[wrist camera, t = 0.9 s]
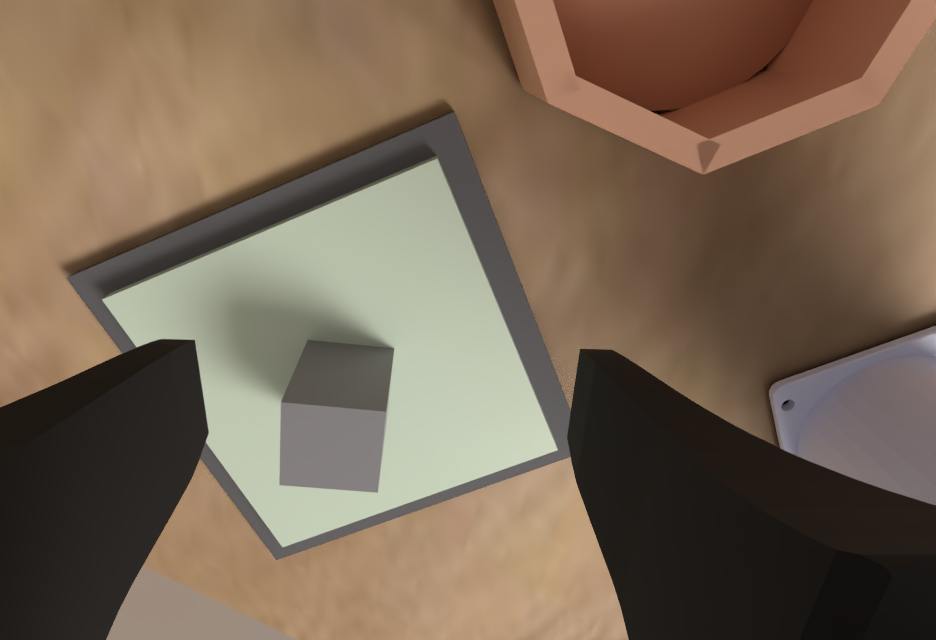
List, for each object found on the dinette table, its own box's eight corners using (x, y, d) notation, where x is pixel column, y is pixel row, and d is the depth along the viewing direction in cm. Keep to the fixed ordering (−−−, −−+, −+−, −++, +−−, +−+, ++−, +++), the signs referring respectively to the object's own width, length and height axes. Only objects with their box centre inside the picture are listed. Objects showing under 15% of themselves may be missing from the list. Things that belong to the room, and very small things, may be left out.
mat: (583, 445, 24) (586, 451, 24) (278, 552, 26) (276, 559, 26) (453, 110, 19) (454, 112, 18) (73, 274, 20) (66, 278, 20)
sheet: (555, 440, 24) (581, 525, 20) (285, 536, 25) (256, 634, 21) (437, 155, 19) (438, 186, 15) (110, 293, 20) (26, 357, 16)
